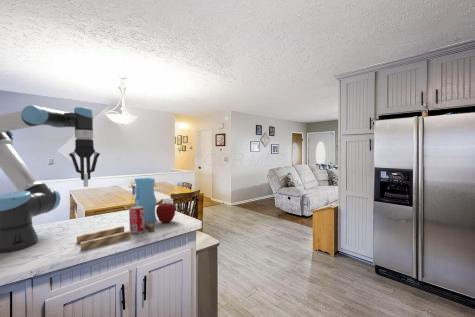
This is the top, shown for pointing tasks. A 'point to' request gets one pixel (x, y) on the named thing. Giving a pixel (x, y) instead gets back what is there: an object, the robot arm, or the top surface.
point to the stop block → (149, 227)
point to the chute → (102, 237)
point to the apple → (165, 212)
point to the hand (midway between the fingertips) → (85, 186)
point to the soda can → (137, 219)
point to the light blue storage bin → (146, 197)
